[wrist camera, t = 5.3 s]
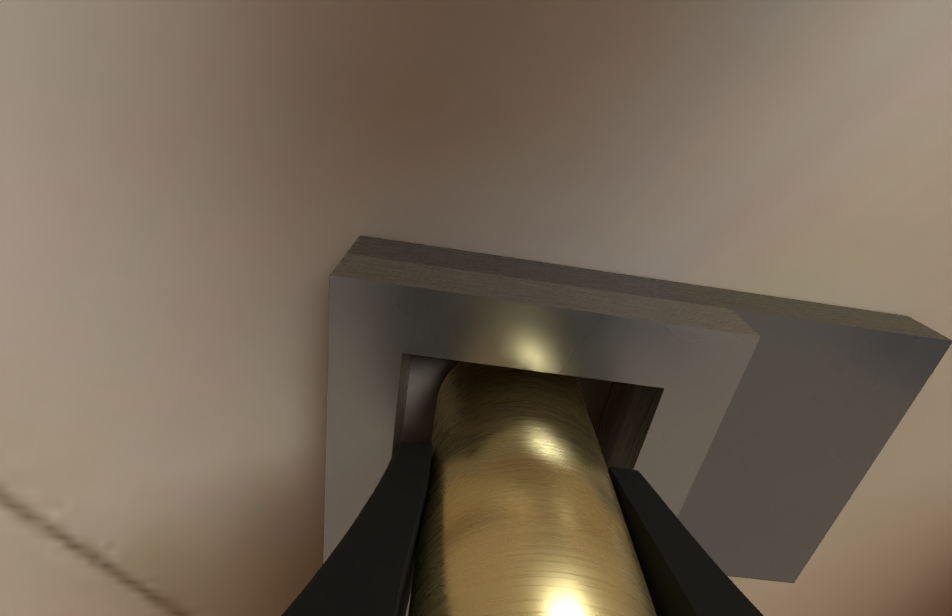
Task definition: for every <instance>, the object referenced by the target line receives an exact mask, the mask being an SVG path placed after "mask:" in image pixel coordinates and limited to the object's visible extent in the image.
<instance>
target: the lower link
mask: <svg viewBox="0 0 952 616" xmlns="http://www.w3.org/2000/svg"><path fill="white" fill-rule="evenodd" d="M347 253H348V254H355V255H362V256H369V257H376V258H383V259H390V260H397V261H404V262H411V263H418V264H424V265H431V266H438V267H445V268H452V269H459V270H466V271H473V272H480V273H487V274H494V275H500V276H507V277H514V278H521V279H528V280H535V281H542V282H549V283H556V284H563V285H570V286H576V287H583V288H590V289H597V290H604V291H611V292H618V293H625V294H632V295H639V296H645V297H652V298H659V299H666V300H673V301H680V302H687V303H694V304H701V305H708V306H715V307H721V308H728V309H731V310H732V311H733V312H735V313H736V314H737V315H738V316H739V317H740V318H741V319H742V320H743V321H744V322H745V323H747V324H748V325H749V326H750V327H751V328H752V329H753V330H754V331H755V332H756V333H758V334H759V335H760V336H761V337H760V339H759V341H758V343H757V345H756V347H755V350H754V352H753V354H752V356H751V358H750V360H749V363H748V365H747V367H746V369H745V371H744V374H743V376H742V378H741V380H740V382H739V384H738V387H737V389H736V391H735V393H734V395H733V397H732V400H731V402H730V404H729V406H728V408H727V410H726V413H725V415H724V417H723V419H722V421H721V423H720V426H719V428H718V430H717V432H716V434H715V437H714V439H713V441H712V443H711V445H710V447H709V450H708V452H707V454H706V456H705V458H704V460H703V463H702V465H701V467H700V469H699V471H698V473H697V476H696V478H695V480H694V482H693V484H692V486H691V489H690V491H689V493H688V495H687V497H686V500H685V502H684V504H683V506H682V508H681V510H680V513H679V515H678V517H677V518H678V519H679V520H680V522H681V523H682V524H683V525H684V527H685V528H686V529H687V530H688V531H689V533H690V534H691V535H692V536H693V537H694V538H695V540H696V541H697V542H698V543H699V544H700V546H701V547H702V548H703V549H704V550H705V551H706V553H707V554H708V555H709V556H710V557H711V558H712V560H713V561H714V562H715V563H716V564H717V565H718V566H719V568H720V569H721V570H722V571H723V572H724V573H725V574H726V576H733V577H742V578H751V579H760V580H769V581H778V582H787V583H794V582H795V580H796V579H797V577H798V576H799V574H800V573H801V571H802V570H803V568H804V567H805V565H806V564H807V562H808V561H809V559H810V558H811V556H812V555H813V553H814V552H815V550H816V549H817V547H818V546H819V544H820V542H821V541H822V539H823V538H824V536H825V535H826V533H827V532H828V530H829V529H830V527H831V526H832V524H833V523H834V521H835V520H836V518H837V517H838V515H839V514H840V512H841V511H842V509H843V508H844V506H845V504H846V503H847V501H848V500H849V498H850V497H851V495H852V494H853V492H854V491H855V489H856V488H857V486H858V485H859V483H860V482H861V480H862V479H863V477H864V476H865V474H866V473H867V471H868V470H869V468H870V467H871V465H872V463H873V462H874V460H875V459H876V457H877V456H878V454H879V453H880V451H881V450H882V448H883V447H884V445H885V444H886V442H887V441H888V439H889V438H890V436H891V435H892V433H893V432H894V430H895V429H896V427H897V425H898V424H899V422H900V421H901V419H902V418H903V416H904V415H905V413H906V412H907V410H908V409H909V407H910V406H911V404H912V403H913V401H914V400H915V398H916V397H917V395H918V394H919V392H920V391H921V389H922V387H923V386H924V384H925V383H926V381H927V380H928V378H929V377H930V375H931V374H932V372H933V371H934V369H935V368H936V366H937V365H938V363H939V362H940V360H941V359H942V357H943V356H944V354H945V353H946V351H947V349H948V348H949V346H950V345H951V343H952V340H950V339H948V338H947V337H945V336H943V335H941V334H939V333H938V332H936V331H934V330H932V329H930V328H929V327H927V326H925V325H923V324H921V323H919V322H918V321H916V320H914V319H912V318H910V317H909V316H902V315H896V314H889V313H882V312H875V311H868V310H862V309H855V308H848V307H841V306H834V305H828V304H821V303H814V302H807V301H800V300H794V299H787V298H780V297H773V296H766V295H760V294H753V293H746V292H739V291H732V290H726V289H719V288H712V287H705V286H698V285H692V284H685V283H678V282H671V281H664V280H658V279H651V278H644V277H637V276H630V275H624V274H617V273H610V272H603V271H596V270H590V269H583V268H576V267H569V266H562V265H556V264H549V263H542V262H535V261H528V260H522V259H515V258H508V257H501V256H494V255H488V254H481V253H474V252H467V251H460V250H454V249H447V248H440V247H433V246H426V245H420V244H413V243H406V242H399V241H392V240H386V239H379V238H372V237H365V236H360V237H359V238H358V239H357V241H356V242H355V243H354V245H353V246H352V247H351V249H350V250H349V251H348V252H347ZM410 360H411V354H407V359H406V369H405V379H404V388H403V398H402V407H401V417H400V426H399V436H398V444H399V443H401V442H402V433H403V424H404V415H405V405H406V396H407V387H408V378H409V369H410ZM635 386H636V384H629V383H621V382H614V383H613V386H612V389H611V392H610V395H609V398H608V401H607V404H606V407H605V410H604V413H603V416H602V419H601V422H600V425H599V428H598V432H597V435H596V437H597V440H598V443H599V446H600V449H601V452H602V455H603V458H604V461H605V464H606V467H607V465H608V463H609V460H610V457H611V454H612V451H613V448H614V446H615V443H616V440H617V437H618V434H619V431H620V428H621V426H622V423H623V420H624V417H625V414H626V411H627V409H628V406H629V403H630V400H631V397H632V394H633V391H634V389H635Z"/></svg>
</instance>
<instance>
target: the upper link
mask: <svg viewBox="0 0 952 616" xmlns="http://www.w3.org/2000/svg"><path fill="white" fill-rule="evenodd" d="M760 337H761V336H760V335H759V334H758V333H756V332H755V331H754V330H753V329H752V328H751V327H750V326H749V325H748V324H747V323H745V322H744V321H743V320H742V319H741V318H740V317H739V316H738V315H737V314H736V313H735V312H733V311H732V310H731V309H728V308H721V307H715V306H708V305H701V304H694V303H687V302H680V301H673V300H666V299H659V298H652V297H645V296H639V295H632V294H625V293H618V292H611V291H604V290H597V289H590V288H583V287H576V286H570V285H563V284H556V283H549V282H542V281H535V280H528V279H521V278H514V277H507V276H500V275H494V274H487V273H480V272H473V271H466V270H459V269H452V268H445V267H438V266H431V265H424V264H418V263H411V262H404V261H397V260H390V259H383V258H376V257H369V256H362V255H355V254H348V253H347V254H346V255H345V256H344V258H343V259H342V260H341V261H340V263H339V264H338V265H337V267H336V268H335V269H334V271H333V272H332V273H331V274H330V292H329V335H328V378H327V421H326V463H325V506H324V549H323V564H324V563H325V561H326V560H327V559H328V557H329V556H330V555H331V553H332V552H333V550H334V549H335V548H336V546H337V545H338V544H339V542H340V541H341V540H342V538H343V537H344V536H345V534H346V533H347V531H348V530H349V529H350V527H351V526H352V524H353V523H354V521H355V520H356V518H357V516H358V515H359V513H360V512H361V510H362V509H363V507H364V506H365V504H366V503H367V501H368V499H369V498H370V496H371V495H372V493H373V492H374V490H375V488H376V486H377V485H378V483H379V481H380V479H381V478H382V476H383V474H384V472H385V470H386V469H387V467H388V465H389V462H390V460H391V458H392V456H393V454H394V451H395V449H396V446H397V445H398V436H399V426H400V417H401V407H402V398H403V388H404V379H405V369H406V359H407V354H412V355H420V356H427V357H435V358H442V359H450V360H457V361H464V362H472V363H479V364H487V365H494V366H502V367H509V368H517V369H524V370H532V371H539V372H547V373H554V374H562V375H569V376H577V377H584V378H591V379H599V380H606V381H614V382H621V383H629V384H636V386H635V389H634V391H633V394H632V397H631V400H630V403H629V406H628V409H627V411H626V414H625V417H624V420H623V423H622V426H621V428H620V431H619V434H618V437H617V440H616V443H615V446H614V448H613V451H612V454H611V457H610V460H609V463H608V465H607V469H608V468H609V467H615V468H623V469H631V470H638V471H639V472H640V473H641V474H642V476H643V477H644V478H645V479H646V480H647V481H648V483H649V484H650V485H651V486H652V488H653V489H654V490H655V491H656V492H657V494H658V495H659V496H660V497H661V498H662V500H663V501H664V502H665V503H666V505H667V506H668V507H669V508H670V510H671V511H672V512H673V513H674V514H675V516H676V517H678V515H679V513H680V510H681V508H682V506H683V504H684V502H685V500H686V497H687V495H688V493H689V491H690V489H691V486H692V484H693V482H694V480H695V478H696V476H697V473H698V471H699V469H700V467H701V465H702V463H703V460H704V458H705V456H706V454H707V452H708V450H709V447H710V445H711V443H712V441H713V439H714V437H715V434H716V432H717V430H718V428H719V426H720V423H721V421H722V419H723V417H724V415H725V413H726V410H727V408H728V406H729V404H730V402H731V400H732V397H733V395H734V393H735V391H736V389H737V387H738V384H739V382H740V380H741V378H742V376H743V374H744V371H745V369H746V367H747V365H748V363H749V360H750V358H751V356H752V354H753V352H754V350H755V347H756V345H757V343H758V341H759V339H760ZM411 589H412V588H411ZM410 596H411V593H410ZM409 603H410V597H409V602H408V606H407V611H406V615H405V616H408V611H409Z"/></svg>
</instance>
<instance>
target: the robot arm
mask: <svg viewBox="0 0 952 616" xmlns="http://www.w3.org/2000/svg"><path fill="white" fill-rule="evenodd" d="M432 451H433V445H429V444H421V443H413V442H405V441H403V442H401V443H399V444H398V445H397V446H396V449H395V451H394V454H393V456H392V458H391V460H390V462H389V465H388V467H387V469H386V470H385V472H384V474H383V476H382V478H381V479H380V481H379V483H378V485H377V486H376V488H375V490H374V492H373V493H372V495H371V496H370V498H369V499H368V501H367V503H366V504H365V506H364V507H363V509H362V510H361V512H360V513H359V515H358V516H357V518H356V520H355V521H354V523H353V524H352V526H351V527H350V529H349V530H348V531H347V533H346V534H345V536H344V537H343V538H342V540H341V541H340V542H339V544H338V545H337V546H336V548H335V549H334V550H333V552H332V553H331V555H330V556H329V557H328V559H327V560H326V561H325V563H324V564H323V565H322V567H321V568H320V569H319V571H318V572H317V573H316V574H315V576H314V577H313V578H312V580H311V581H310V582H309V583H308V585H307V586H306V587H305V588H304V590H303V591H302V592H301V593H300V594H299V596H298V597H297V598H296V599H295V600H294V602H293V603H292V604H291V605H290V606H289V607H288V609H287V610H286V611H285V612H284V613H283V615H282V616H405V615H406V611H407V606H408V602H409V597H410V593H411V588H412V581H413V574H414V566H415V559H416V552H417V544H418V537H419V530H420V524H421V519H422V514H423V509H424V504H425V500H426V495H427V488H428V482H429V475H430V467H431V459H432ZM608 472H609V475H610V478H611V481H612V484H613V487H614V490H615V493H616V496H617V499H618V502H619V505H620V508H621V511H622V514H623V517H624V520H625V523H626V526H627V529H628V532H629V535H630V538H631V540H632V543H633V546H634V549H635V552H636V555H637V558H638V561H639V564H640V567H641V570H642V573H643V576H644V579H645V582H646V585H647V588H648V591H649V594H650V597H651V600H652V603H653V606H654V608H655V611H656V614H657V616H763V615H762V614H761V613H760V611H759V610H758V609H757V608H756V607H755V606H754V605H753V604H752V603H751V602H750V601H749V600H748V599H747V598H746V596H745V595H744V594H743V593H742V592H741V591H740V590H739V589H738V588H737V587H736V586H735V584H734V583H733V582H732V581H731V580H730V579H729V578H728V577H727V576H726V574H725V573H724V572H723V571H722V570H721V569H720V568H719V566H718V565H717V564H716V563H715V562H714V561H713V560H712V558H711V557H710V556H709V555H708V554H707V553H706V551H705V550H704V549H703V548H702V547H701V546H700V544H699V543H698V542H697V541H696V540H695V538H694V537H693V536H692V535H691V534H690V533H689V531H688V530H687V529H686V528H685V527H684V525H683V524H682V523H681V522H680V520H679V519H678V518H677V517H676V516H675V514H674V513H673V512H672V511H671V510H670V508H669V507H668V506H667V505H666V503H665V502H664V501H663V500H662V498H661V497H660V496H659V495H658V494H657V492H656V491H655V490H654V489H653V488H652V486H651V485H650V484H649V483H648V481H647V480H646V479H645V478H644V477H643V476H642V474H641V473H640V472H639V471H638V470H631V469H623V468H615V467H609V468H608Z"/></svg>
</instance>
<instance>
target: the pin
mask: <svg viewBox="0 0 952 616" xmlns="http://www.w3.org/2000/svg"><path fill="white" fill-rule="evenodd" d="M431 445H433V451H432V459H431V467H430V475H429V482H428V488H427V495H426V500H425V504H424V509H423V514H422V519H421V524H420V530H419V537H418V544H417V552H416V559H415V566H414V574H413V581H412V589H411V596H410V603H409V611H408V616H657V614H656V611H655V608H654V606H653V603H652V600H651V597H650V594H649V591H648V588H647V585H646V582H645V579H644V576H643V573H642V570H641V567H640V564H639V561H638V558H637V555H636V552H635V549H634V546H633V543H632V540H631V538H630V535H629V532H628V529H627V526H626V523H625V520H624V517H623V514H622V511H621V508H620V505H619V502H618V499H617V496H616V493H615V490H614V487H613V484H612V481H611V478H610V475H609V472H608V469H607V467H606V464H605V461H604V458H603V455H602V452H601V449H600V446H599V443H598V440H597V437H596V434H595V431H594V428H593V425H592V422H591V419H590V416H589V413H588V410H587V407H586V404H585V401H584V399H583V396H582V393H581V390H580V387H579V384H578V382H577V380H576V378H575V377H574V376H569V375H562V374H554V373H547V372H539V371H532V370H524V369H517V368H509V367H502V366H494V365H487V364H479V363H472V362H464V361H460V362H459V363H458V364H457V365H456V366H455V367H454V368H453V369H452V370H451V371H450V372H449V373H448V375H447V376H446V378H445V379H444V381H443V383H442V385H441V387H440V390H439V393H438V398H437V404H436V411H435V419H434V426H433V434H432V441H431Z"/></svg>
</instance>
